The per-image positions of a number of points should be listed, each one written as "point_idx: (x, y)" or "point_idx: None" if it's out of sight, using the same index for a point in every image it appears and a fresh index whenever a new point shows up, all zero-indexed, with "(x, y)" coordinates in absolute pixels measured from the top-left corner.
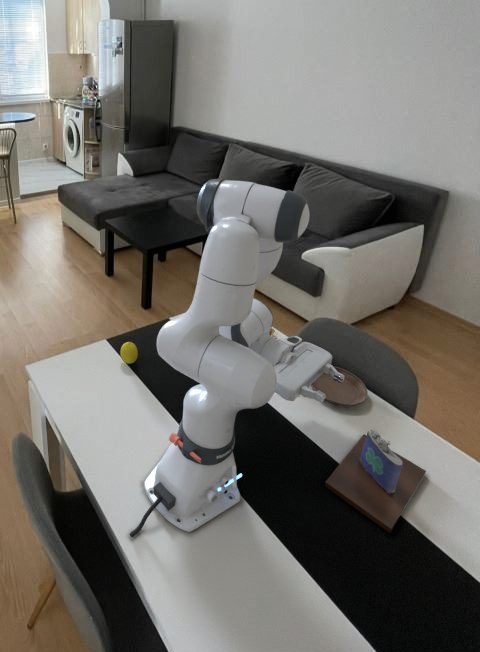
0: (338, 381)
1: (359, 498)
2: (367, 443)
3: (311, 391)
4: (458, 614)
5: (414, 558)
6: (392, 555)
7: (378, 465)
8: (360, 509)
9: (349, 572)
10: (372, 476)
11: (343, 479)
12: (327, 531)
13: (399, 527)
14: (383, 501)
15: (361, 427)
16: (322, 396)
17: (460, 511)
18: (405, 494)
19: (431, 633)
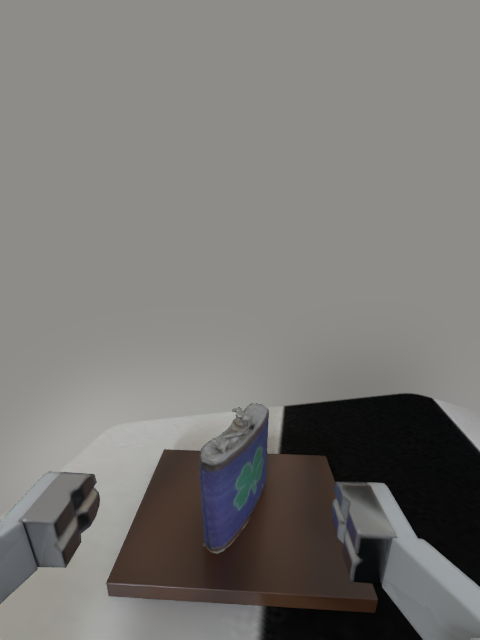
0: (89, 516)
1: (327, 510)
2: (230, 481)
3: (456, 569)
4: (336, 406)
5: (324, 438)
6: (351, 455)
7: (259, 463)
8: None
9: (448, 485)
10: (255, 503)
11: (319, 559)
12: (451, 544)
13: None
14: (289, 477)
15: (51, 624)
16: (377, 483)
17: (204, 421)
18: None
19: (382, 415)
